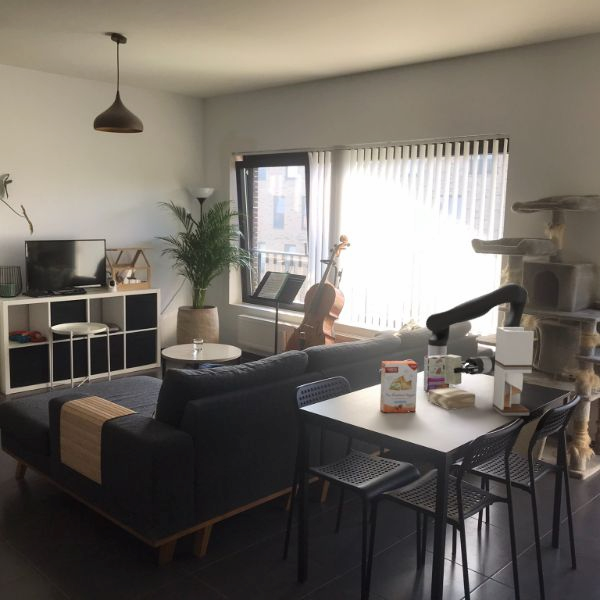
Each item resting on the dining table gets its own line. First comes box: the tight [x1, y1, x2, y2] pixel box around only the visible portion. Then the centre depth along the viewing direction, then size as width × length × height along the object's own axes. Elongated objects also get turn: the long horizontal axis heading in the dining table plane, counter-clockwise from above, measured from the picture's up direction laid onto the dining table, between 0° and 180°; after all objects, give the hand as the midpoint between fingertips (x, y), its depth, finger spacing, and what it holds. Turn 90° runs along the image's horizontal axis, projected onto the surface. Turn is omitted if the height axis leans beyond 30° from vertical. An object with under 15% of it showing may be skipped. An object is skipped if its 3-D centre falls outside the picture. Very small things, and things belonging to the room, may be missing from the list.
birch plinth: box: [428, 386, 476, 410], centre depth 278 cm, size 14×14×5 cm
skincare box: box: [445, 353, 462, 386], centre depth 277 cm, size 6×4×12 cm
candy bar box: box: [423, 355, 450, 393], centre depth 300 cm, size 11×5×16 cm, turn 104°
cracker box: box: [379, 360, 419, 413], centre depth 265 cm, size 14×6×21 cm, turn 99°
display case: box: [492, 326, 535, 416], centre depth 265 cm, size 11×11×35 cm
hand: (448, 369), depth 276 cm, fingers closed on skincare box, 6 cm apart
